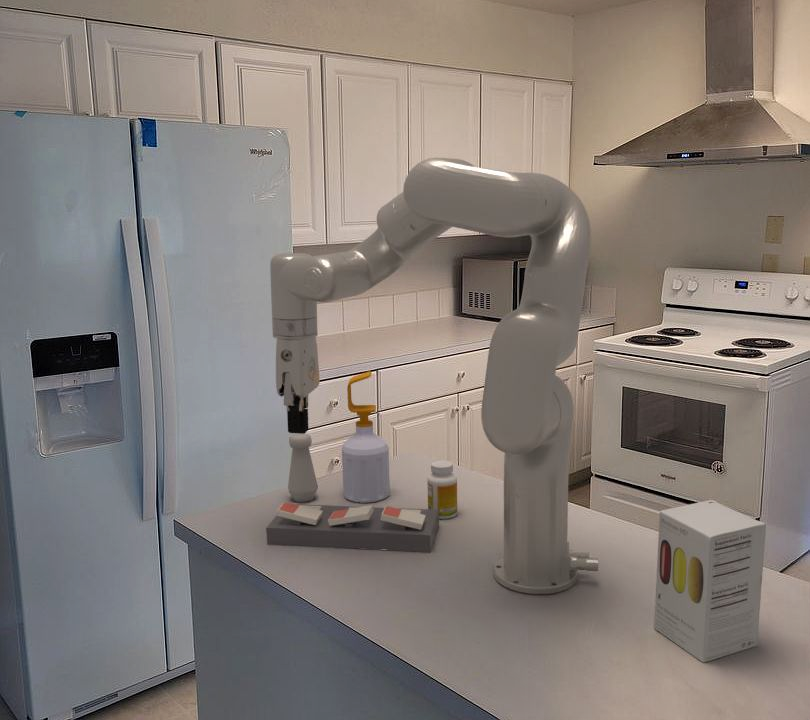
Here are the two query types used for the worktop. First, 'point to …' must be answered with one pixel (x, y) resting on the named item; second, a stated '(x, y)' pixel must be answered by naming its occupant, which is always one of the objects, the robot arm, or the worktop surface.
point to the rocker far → (299, 513)
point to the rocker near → (403, 517)
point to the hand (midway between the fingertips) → (298, 431)
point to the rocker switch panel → (355, 531)
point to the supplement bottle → (442, 489)
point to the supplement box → (709, 579)
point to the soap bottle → (365, 456)
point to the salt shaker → (301, 469)
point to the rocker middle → (350, 515)
